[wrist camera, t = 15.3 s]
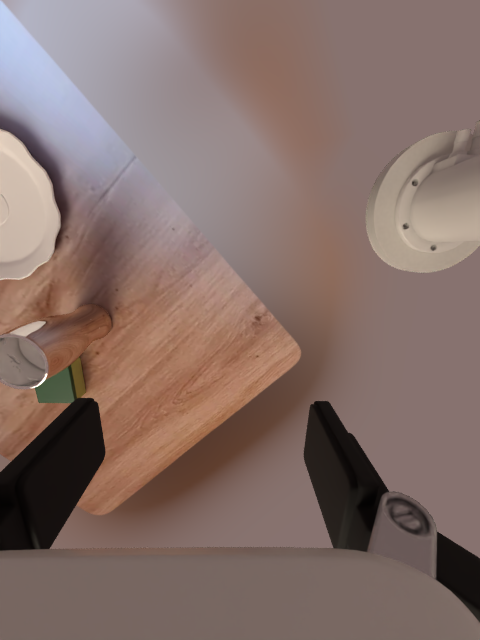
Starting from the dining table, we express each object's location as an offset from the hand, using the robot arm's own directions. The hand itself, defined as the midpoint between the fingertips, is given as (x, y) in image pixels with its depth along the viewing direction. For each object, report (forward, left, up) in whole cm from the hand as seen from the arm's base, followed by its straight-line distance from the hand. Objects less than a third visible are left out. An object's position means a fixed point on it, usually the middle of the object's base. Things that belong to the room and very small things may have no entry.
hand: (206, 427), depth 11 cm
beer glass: (+5, -22, -31) cm, 38 cm away
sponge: (+14, -28, -30) cm, 44 cm away
